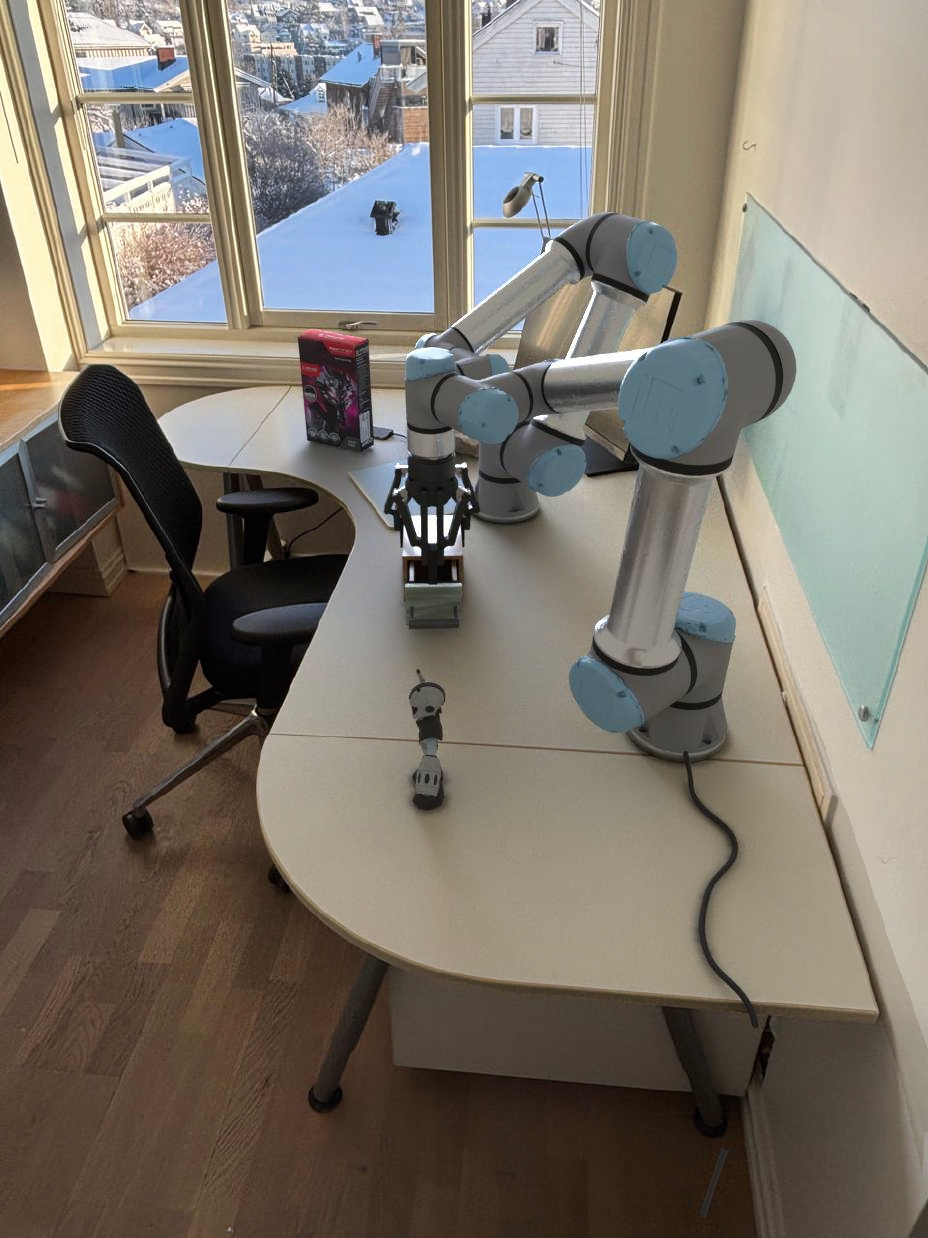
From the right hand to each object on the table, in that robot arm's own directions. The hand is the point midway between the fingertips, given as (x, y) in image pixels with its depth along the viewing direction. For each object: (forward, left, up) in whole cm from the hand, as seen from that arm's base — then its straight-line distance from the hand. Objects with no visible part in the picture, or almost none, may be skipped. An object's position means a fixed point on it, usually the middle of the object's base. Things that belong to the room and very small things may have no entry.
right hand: (432, 580), depth 156 cm
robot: (-36, -10, -12) cm, 39 cm away
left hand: (+24, +8, -7) cm, 27 cm away
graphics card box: (+76, +48, -12) cm, 91 cm away
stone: (+82, +21, -12) cm, 85 cm away
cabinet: (+19, +6, -12) cm, 23 cm away
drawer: (+6, +2, -11) cm, 13 cm away
